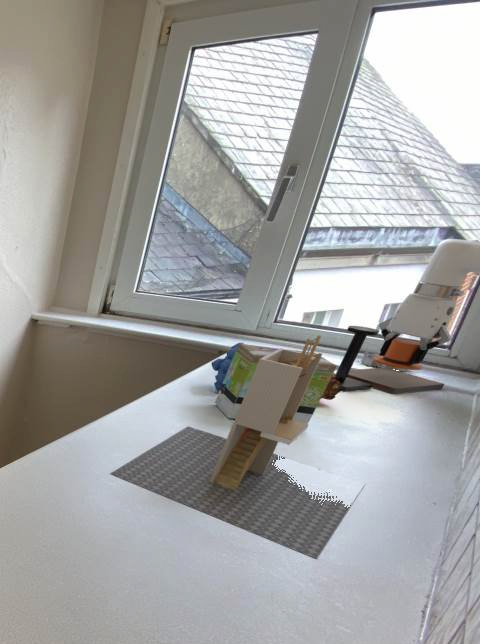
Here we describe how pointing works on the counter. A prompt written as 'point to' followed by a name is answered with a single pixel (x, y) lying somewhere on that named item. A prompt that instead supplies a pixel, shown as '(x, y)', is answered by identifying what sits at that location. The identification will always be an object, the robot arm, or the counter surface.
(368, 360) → the egg carton
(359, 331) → the hat stand
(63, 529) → the counter surface
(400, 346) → the hat
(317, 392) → the tea box
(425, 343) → the robot arm
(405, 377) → the board
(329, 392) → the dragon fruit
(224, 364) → the grapes
